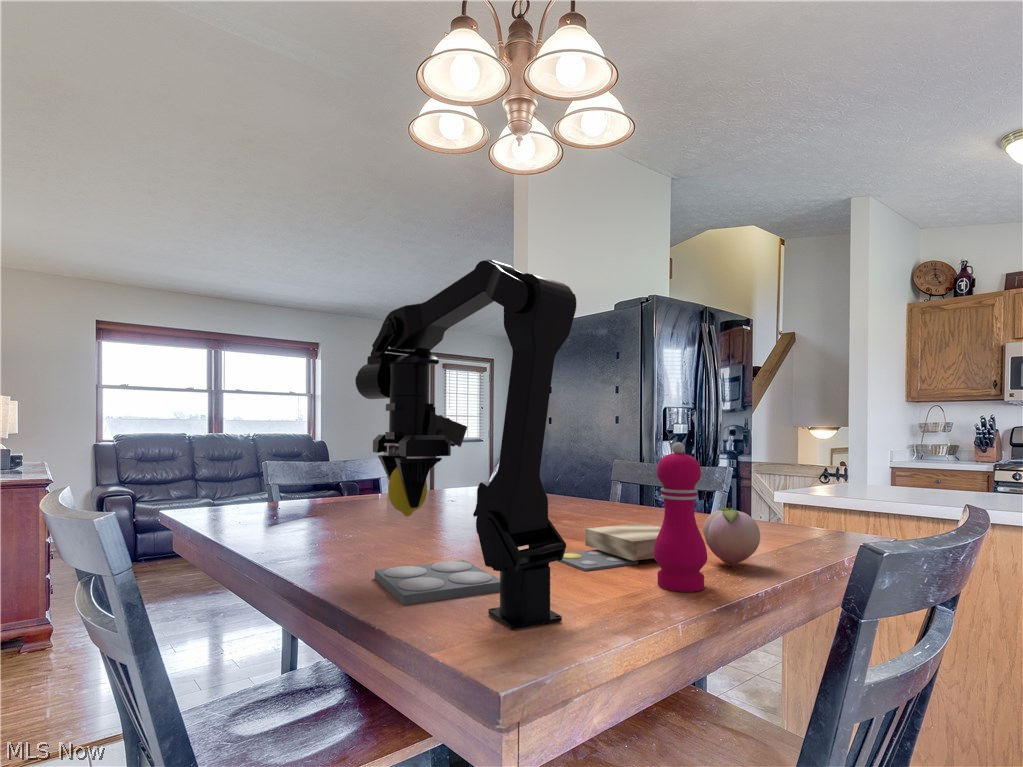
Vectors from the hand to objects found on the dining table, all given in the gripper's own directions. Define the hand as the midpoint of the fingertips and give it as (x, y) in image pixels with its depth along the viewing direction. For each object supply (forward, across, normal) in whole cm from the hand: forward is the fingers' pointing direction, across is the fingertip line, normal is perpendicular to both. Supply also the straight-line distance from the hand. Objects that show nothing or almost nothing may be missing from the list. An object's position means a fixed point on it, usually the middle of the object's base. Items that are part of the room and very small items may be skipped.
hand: (407, 505), depth 82 cm
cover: (+11, -1, -41) cm, 42 cm away
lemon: (+2, 0, 0) cm, 2 cm away
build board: (+11, -3, -3) cm, 12 cm away
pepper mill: (+11, -19, -33) cm, 40 cm away
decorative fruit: (+11, -14, -49) cm, 53 cm away
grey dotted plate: (+11, -1, -31) cm, 33 cm away
